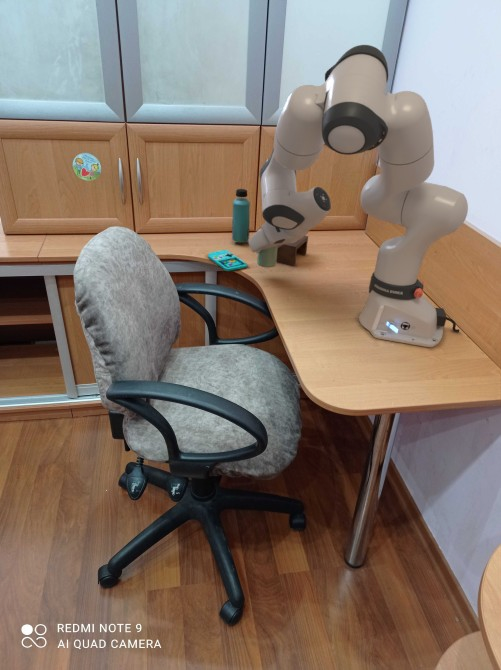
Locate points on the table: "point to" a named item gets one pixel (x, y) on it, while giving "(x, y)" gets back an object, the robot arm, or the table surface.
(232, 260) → the handheld gaming console
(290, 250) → the stand
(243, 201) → the beverage bottle
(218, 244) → the table surface
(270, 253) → the tumbler
